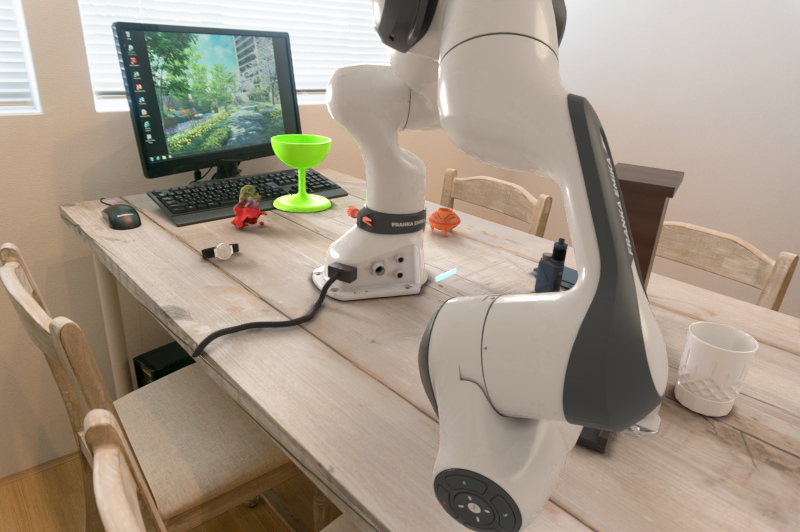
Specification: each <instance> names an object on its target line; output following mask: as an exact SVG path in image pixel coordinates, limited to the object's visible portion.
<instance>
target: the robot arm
mask: <svg viewBox="0 0 800 532" xmlns="http://www.w3.org/2000/svg"><path fill="white" fill-rule="evenodd" d="M371 12H372V18H373V19H372V20H373V22H374V23H373V26H374V27H373V28H374V32H375V34H376V35H377V37H378V39H379V40H380V42H381V43H382V44H384V45H385V46H386V55H387V60H388V62H389V63H374V62H373V63H372V62H363V63H356V64H355V63H354V64H350V65H349V64H348V65H345V66H339V67H338V68H337V69H335V71H334V72H333V73H332V75H331V76H330V78H329V80H328V83H327V85H326V88H325V89H326V90H325V102H326V106H327V109H328V112H329V114H330V116H331V118H332V119H333V120H334V122H335V123H336V124H337V125H338V126H340V127H341V128H342V129H343V130H344V131H346V132H347V133H348V134H349V136H350V137H351V138H352V139H353V141H354V142H355V144H356V145H357V147H358V149H359V151H360V153H361V156H362V159H363V164H364V172H365V173H364V175H365V203H364V204H363V206H362V208H360V209H358V208H357V207H356V206H354V205H350V206H347V209H346V214H347V216H349V217H351V219H353V220H356V224H355V225H354V226H352V228H350V229H348V231H346V232H345V233H344V234H342V235H341V236H340V237H339V238H338V239H336V240H335V241H334V242H332V243H331V244H330V245H329V247H328V248H327V250H326V253H325V258H324V263H323V265H322V266H320V267H316V268H314V270H313V271H312V281H313V284H315V286H316V287H317V288H318V289H319V290H320V293H319V296H318V298H317V300H316V301H315V303H314V305H313V307H311V309H310V311H309V312H308V313H306V314H304V315H301V316H299V317H297V318H293V319H288V320H274V321H273V320H272V321H271V320H270V321H265V320H264V321H263V320H262V321H251V322H246V323H240V324H238V325H234V326H228V327H225V328H221V329H218V330H215V331H212V332H211V333H210V334H208V335H207V336H206V337H204V338H203V339H202V340H201V342H199V344H198V345H197V346H196V348H195V349H194V350H193V352H192V354H191V358H198V357H200V355H201V354H202V353H203V351H204V350H205V349H206V348H207V346H208V345H210V344H211V343H212V342H213V341H214V340H216V339H218V338H221V337H223V336H226V335H230V334H235V333H239V332H242V331H247V330H252V329H269V328H271V329H273V328H275V329H277V328H288V327H294V326H298V325H301V324H303V323H305V322H308V321H309V320H311V319H312V318H313V317H314V316H315V315H316V314H317V312H318V310H319V309H320V308H321V307H322V304H323V303H324V301H325V299H326V297H327V296H328V297H331V298H332V299H336V300H338V301H354V300H364V299H377V298H385V297H387V298H388V297H398V296H406V295H407V296H408V295H409V296H410V295H417V294H419V293H421V287H422V286H423V285H424V284H425V283H426V282H427V281H428V279H429V275H428V272H427V266H426V260H425V249H424V248H425V247H424V246H425V245H424V233H425V229H426V226H427V207H426V204H425V203H426V193H427V192H426V191H427V179H428V178H427V177H428V171H427V167H426V165H425V163H424V161H423V160H422V159H421V158H420V157H418V156H417V155H416V154H414V153H412V151H411V152H410V150H408V149H406V148H404V147H401V146H400V143H399V138H398V135H399V132H440V131H441V132H442V131H444V132H445V135H446V136H447V138H448V140H450V142H451V143H452V144H453V145H454V146H455V147H456V148H457V149H458V150H460V151H461V152H462V153H463V154H465V155H467V156H468V157H469V158H472V159H473V160H475V161H477V162H479V163H482V164H485V165H486V166H490V167H493V168H496V169H500V170H503V171H505V170H506V171H509V172H510V171H511V172H517V173H523V174H528V175H532V176H535V177H536V176H537V177H541V178H543V179H546V180H548V181H551V182H554V183H556V184H558V187H559V190H560V191H561V192H560V193H561V197H562V201H563V206H564V212H565V216H566V221H567V226H568V231H569V236H570V241H571V246H572V251H573V255H574V261H575V266H576V270H577V271H578V280H577V282H576V284H575V285H574V286H573V287H572V288H571V289H570V288H568V289H567V290H562V291H560V292H547V293H535V292H532V293H512V294H511V293H510V294H507V293H496V294H495V293H494V294H478V295H477V294H476V295H465V296H452V297H450V298H447V300H445V301H444V302H443V303H442V304H441V305H440V306H439V307H438V308H437V309H436V310H435V312H433V314H432V316H431V318H430V319H429V321H428V323H427V325H426V327H425V329H424V332H423V334H422V337H421V339H420V342H419V346H418V353H417V365H418V372H419V377H420V382H421V384H422V387H423V390H424V392H425V395H426V397H427V399H428V402H429V403H430V405H431V407H432V409H433V411H434V413H435V416H436V417H437V420H438V425H439V443H438V450H437V453H436V458H435V461H434V465H433V470H432V473H431V475H432V476H431V483H432V489H433V492H434V496H435V498H436V500H437V501H438V504H440V505H439V506H441V508H442V509H443V510H444V511H445V512H446V513H447V514H448V515H449V516H450V517H451V518H452V519H454V520H455V522H458V523H459V524H460V525H462V526H463V528H466V529H468V530H471V531H473V532H524V531H525V530H526V529H527V528H528V527H529V526H530V525H531V524H532V523H533V522H534V521H535V520H536V519H537V517H538V516H539V515H540V514H541V512H542V511H543V509H544V508H545V506H546V504H547V503H548V501H549V499H550V498H551V496H552V494H553V492H554V491H555V489H556V487H557V485H558V483H559V481H560V479H561V478H562V475H563V472H564V470H565V467H566V462H567V455H568V454H570V452H571V451H572V450H573V449H574V447H575V446H576V444H577V443H576V442H577V440H578V438H579V436H580V433H581V431H582V429H583V427H584V426H585V427H591V428H596V429H602V430H607V431H612V433H618V434H622V435H626V436H628V437H631V438H638V437H639V436H641V437H650V438H651V437H652V438H654V437H656V436H657V434H658V433H660V430H661V425H662V421H661V417H660V415H659V413H660V409H661V406H662V403H663V401H664V400H665V398H666V392H667V385H668V381H669V358H668V351H667V347H666V342H665V339H664V335H663V333H662V330H661V327H660V324H659V322H658V320H657V317H656V315H655V312H654V310H653V308H652V307H651V303H650V300H649V297H648V293H647V290H646V289H645V286H644V282H643V278H642V275H641V271H640V267H639V263H638V258H637V254H636V250H635V246H634V242H633V238H632V234H631V229H630V225H629V221H628V217H627V213H626V209H625V205H624V201H623V196H622V192H621V188H620V184H619V181H618V177H617V173H616V169H615V166H614V165H615V162H614V159H613V156H612V152H611V148H610V145H609V141H608V139H607V138H608V137H607V134H606V132H605V129H604V126H603V124H602V122H601V119H600V118H599V116H598V114H597V112H596V110H595V108H594V107H593V105H592V104H591V102H590V101H589V100H588V99H587V98H586V96H582V95H578V94H574V93H570V92H568V91H567V89H566V88H565V87H564V84H563V82H562V79H561V74H560V58H559V49H560V46H561V44H562V41H563V38H564V34H565V30H566V26H567V21H568V20H567V19H568V14H567V13H568V12H567V5H566V1H565V0H371ZM456 273H457V268H452V269H450V270H448V271H446V272H444V273H441V274H439V275H436V276H435V282H440V281H442V280H444V279H446V278H448V277H450V276H452V275H455V274H456Z"/></svg>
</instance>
